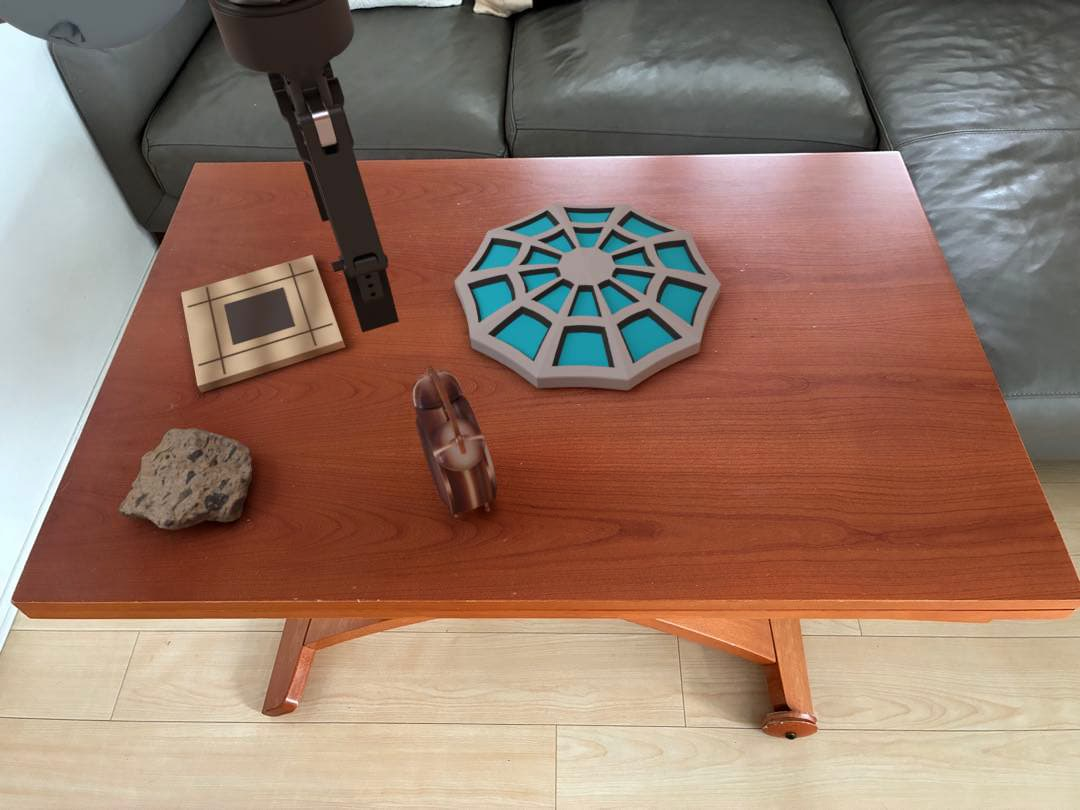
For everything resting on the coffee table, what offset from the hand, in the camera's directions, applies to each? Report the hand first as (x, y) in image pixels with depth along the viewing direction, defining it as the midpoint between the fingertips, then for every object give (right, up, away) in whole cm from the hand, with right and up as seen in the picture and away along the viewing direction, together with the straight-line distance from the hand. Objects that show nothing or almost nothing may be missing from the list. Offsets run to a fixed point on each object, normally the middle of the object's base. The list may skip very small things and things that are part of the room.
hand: (357, 266), depth 59 cm
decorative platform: (+20, +2, +31) cm, 37 cm away
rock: (-19, -20, +16) cm, 32 cm away
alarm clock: (+7, -19, +15) cm, 25 cm away
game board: (-18, -1, +30) cm, 35 cm away
